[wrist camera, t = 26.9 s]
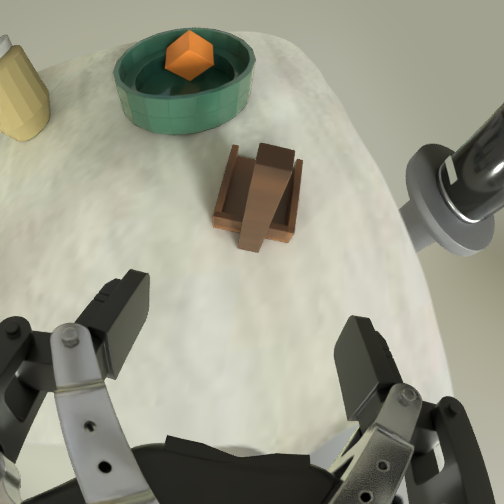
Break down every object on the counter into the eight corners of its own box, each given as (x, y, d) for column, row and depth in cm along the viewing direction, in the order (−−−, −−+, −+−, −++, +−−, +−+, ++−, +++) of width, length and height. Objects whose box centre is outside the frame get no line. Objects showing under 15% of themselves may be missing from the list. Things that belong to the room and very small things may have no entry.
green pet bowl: (258, 68, 33) (264, 35, 28) (234, 148, 28) (238, 109, 23) (153, 57, 32) (149, 26, 27) (102, 131, 27) (88, 96, 22)
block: (188, 49, 24) (189, 29, 25) (164, 68, 27) (166, 47, 27) (214, 64, 28) (212, 44, 28) (189, 81, 30) (190, 60, 30)
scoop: (285, 258, 25) (340, 184, 13) (209, 242, 24) (204, 153, 13) (297, 172, 28) (338, 79, 16) (231, 158, 27) (242, 57, 16)
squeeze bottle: (37, 150, 25) (-28, 39, 8) (1, 149, 25) (-60, 59, 8) (68, 102, 28) (27, -6, 11) (30, 105, 28) (-13, 14, 11)
